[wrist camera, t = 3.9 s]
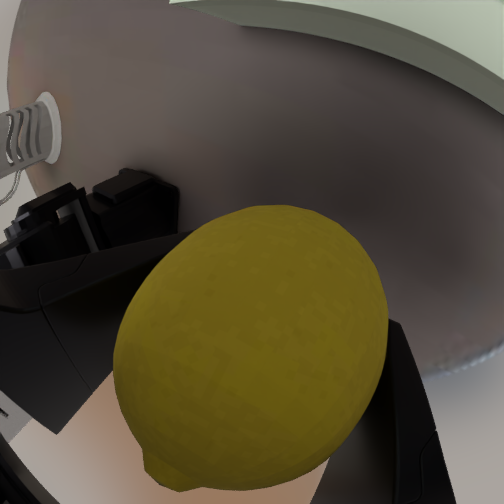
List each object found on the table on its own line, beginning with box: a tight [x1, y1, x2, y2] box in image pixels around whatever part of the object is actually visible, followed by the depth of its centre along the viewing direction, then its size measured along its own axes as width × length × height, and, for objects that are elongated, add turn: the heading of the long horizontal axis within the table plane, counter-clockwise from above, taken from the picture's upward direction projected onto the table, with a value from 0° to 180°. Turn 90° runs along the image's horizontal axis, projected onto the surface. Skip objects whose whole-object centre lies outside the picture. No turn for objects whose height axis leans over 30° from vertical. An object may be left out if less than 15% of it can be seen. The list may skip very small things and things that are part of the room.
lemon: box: [113, 205, 388, 492], centre depth 6 cm, size 6×6×8 cm
